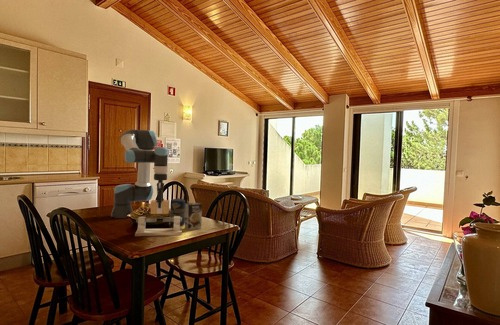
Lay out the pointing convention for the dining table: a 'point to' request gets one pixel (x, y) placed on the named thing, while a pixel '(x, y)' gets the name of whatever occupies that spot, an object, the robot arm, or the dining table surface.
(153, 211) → the block
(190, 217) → the coffee box
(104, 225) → the dining table surface
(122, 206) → the robot arm
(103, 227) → the dining table surface
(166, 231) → the shaft rig
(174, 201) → the canister
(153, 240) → the dining table surface
